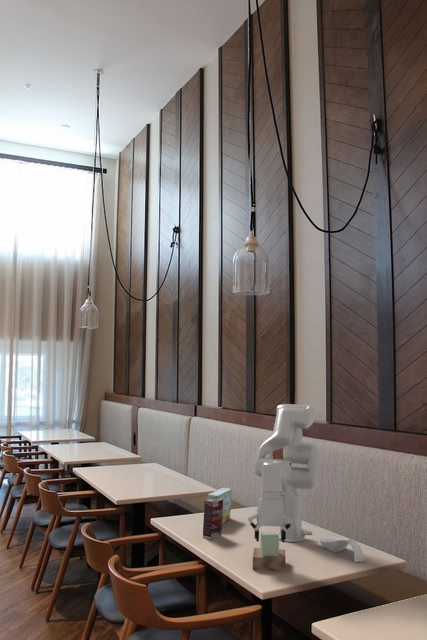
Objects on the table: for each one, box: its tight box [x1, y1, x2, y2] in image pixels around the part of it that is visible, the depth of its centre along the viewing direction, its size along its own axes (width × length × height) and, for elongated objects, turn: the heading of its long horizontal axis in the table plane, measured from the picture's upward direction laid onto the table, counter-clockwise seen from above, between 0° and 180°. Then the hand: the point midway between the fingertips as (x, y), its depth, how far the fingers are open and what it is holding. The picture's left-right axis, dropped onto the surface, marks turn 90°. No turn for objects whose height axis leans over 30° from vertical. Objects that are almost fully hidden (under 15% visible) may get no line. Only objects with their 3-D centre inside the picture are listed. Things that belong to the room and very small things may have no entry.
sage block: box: [259, 531, 280, 556], centre depth 212 cm, size 6×6×7 cm
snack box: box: [206, 487, 233, 524], centre depth 274 cm, size 21×6×15 cm, turn 159°
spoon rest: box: [319, 537, 366, 563], centre depth 231 cm, size 24×12×7 cm, turn 24°
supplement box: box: [202, 498, 223, 540], centre depth 249 cm, size 9×5×16 cm, turn 143°
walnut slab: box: [252, 547, 286, 573], centre depth 211 cm, size 12×12×5 cm
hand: (270, 540), depth 212 cm, fingers open, 9 cm apart
